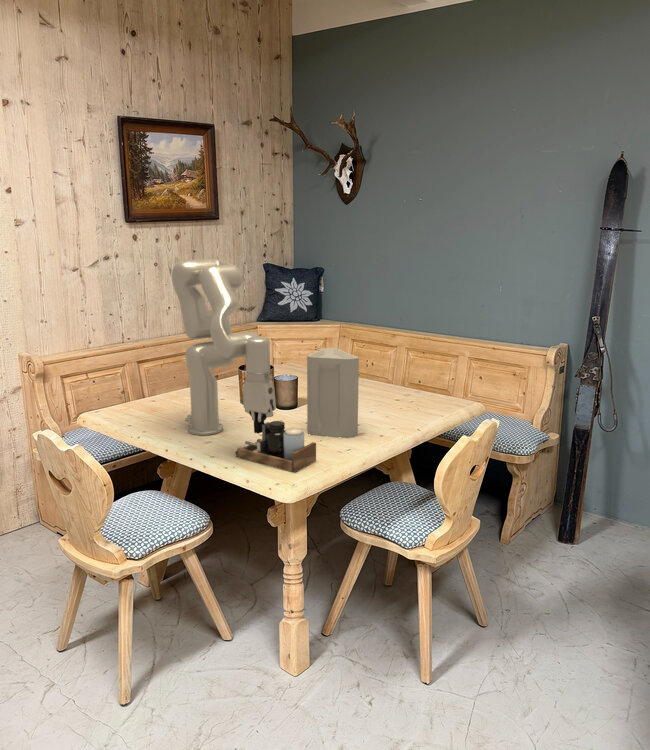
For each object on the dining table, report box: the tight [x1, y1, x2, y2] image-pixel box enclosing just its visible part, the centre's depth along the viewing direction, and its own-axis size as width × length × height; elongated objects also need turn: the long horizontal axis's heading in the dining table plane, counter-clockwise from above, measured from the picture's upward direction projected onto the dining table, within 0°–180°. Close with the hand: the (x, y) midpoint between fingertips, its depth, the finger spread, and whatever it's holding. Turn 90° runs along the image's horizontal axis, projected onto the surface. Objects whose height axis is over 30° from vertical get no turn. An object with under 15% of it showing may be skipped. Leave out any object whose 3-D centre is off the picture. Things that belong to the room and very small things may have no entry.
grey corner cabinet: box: [306, 347, 360, 439], centre depth 233 cm, size 19×15×28 cm
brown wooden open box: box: [235, 438, 317, 473], centre depth 209 cm, size 23×11×6 cm, turn 57°
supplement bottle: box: [266, 420, 286, 459], centre depth 208 cm, size 7×7×12 cm
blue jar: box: [284, 426, 305, 461], centre depth 205 cm, size 6×6×11 cm
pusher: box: [244, 421, 270, 454], centre depth 213 cm, size 9×8×11 cm
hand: (259, 432), depth 211 cm, fingers closed
